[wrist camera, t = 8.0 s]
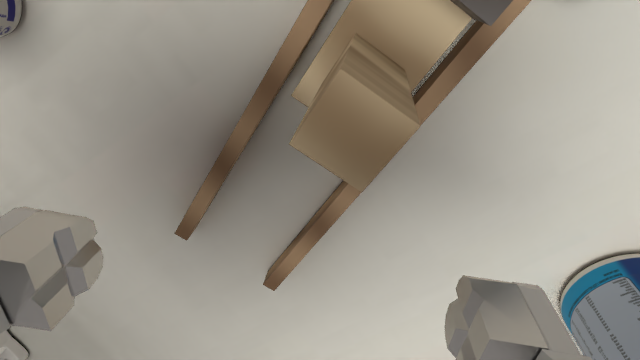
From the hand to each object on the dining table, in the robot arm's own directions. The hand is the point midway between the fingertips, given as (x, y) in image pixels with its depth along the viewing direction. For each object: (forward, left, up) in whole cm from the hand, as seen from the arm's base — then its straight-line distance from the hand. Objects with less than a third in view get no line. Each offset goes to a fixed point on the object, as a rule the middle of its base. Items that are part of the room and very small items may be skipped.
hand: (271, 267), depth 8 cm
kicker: (+3, -1, -15) cm, 16 cm away
